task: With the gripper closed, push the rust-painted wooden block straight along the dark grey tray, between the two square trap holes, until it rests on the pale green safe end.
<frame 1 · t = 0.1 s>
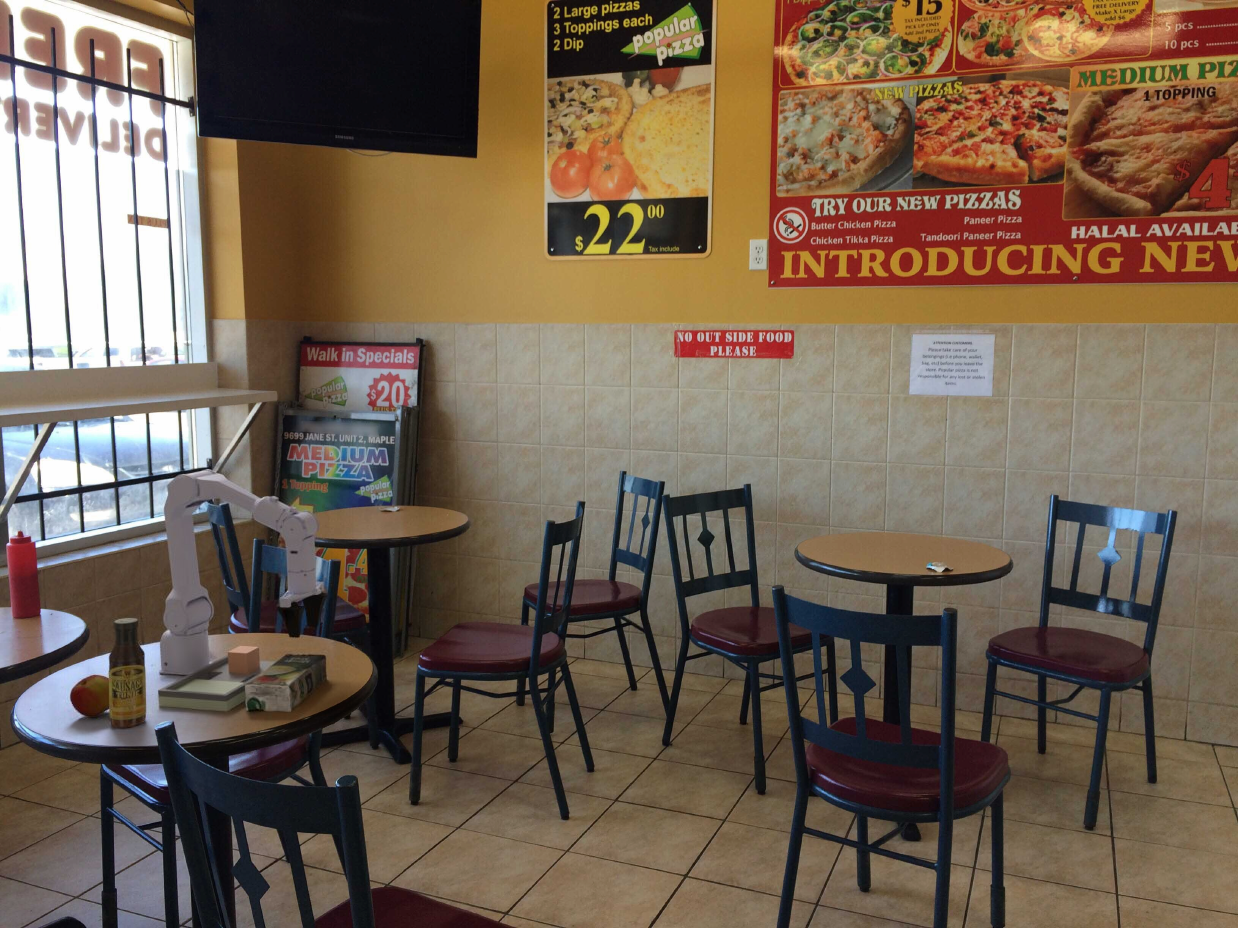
hand: (304, 631, 211), 10 cm above the table, tool pointing down, fingers open, 7 cm apart
juice carton: (287, 697, 202), on the table
white cup: (186, 651, 231), on the table
trap tray: (228, 687, 205), on the table
apple: (96, 716, 190), on the table
block: (244, 669, 211), point 2 cm above the table, touching trap tray
sauce bottle: (129, 724, 187), on the table
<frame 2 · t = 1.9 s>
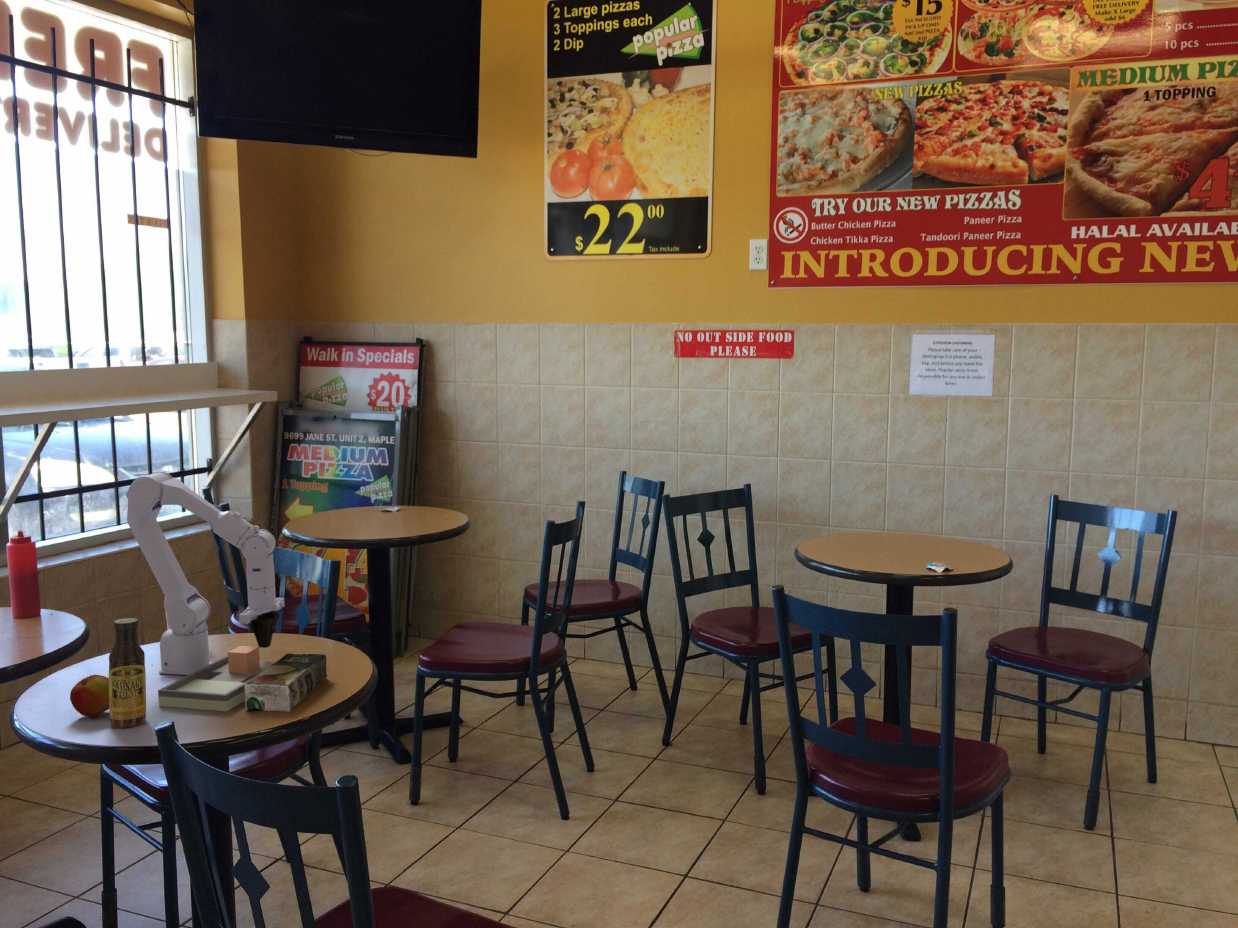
hand: (264, 646, 218), 5 cm above the table, tool pointing down, fingers closed
nothing on the table moved.
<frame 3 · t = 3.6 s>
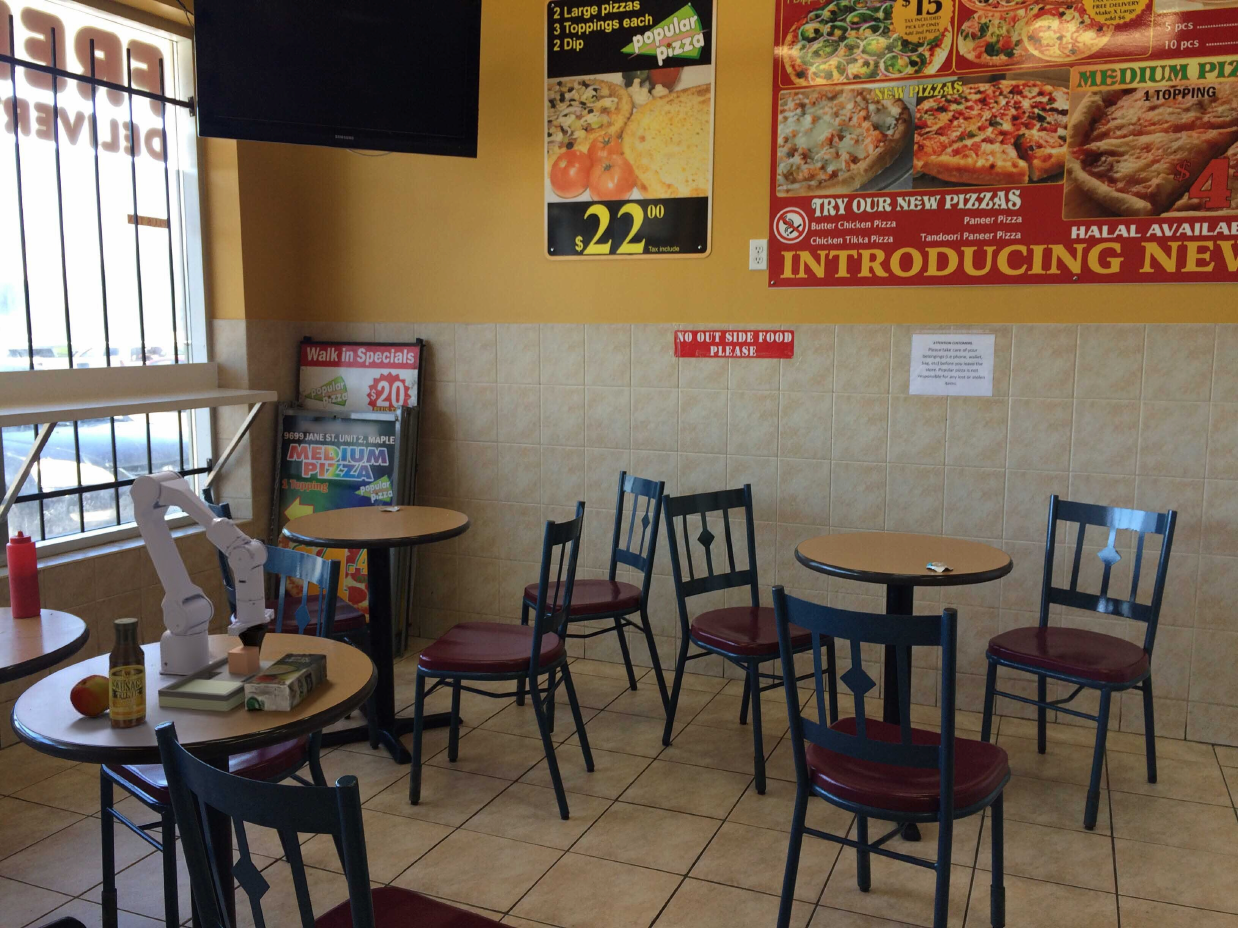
hand: (253, 659, 214), 3 cm above the table, tool pointing down, fingers closed, pressing on block
block: (244, 669, 211), point 2 cm above the table, touching gripper, trap tray
everything else where it was.
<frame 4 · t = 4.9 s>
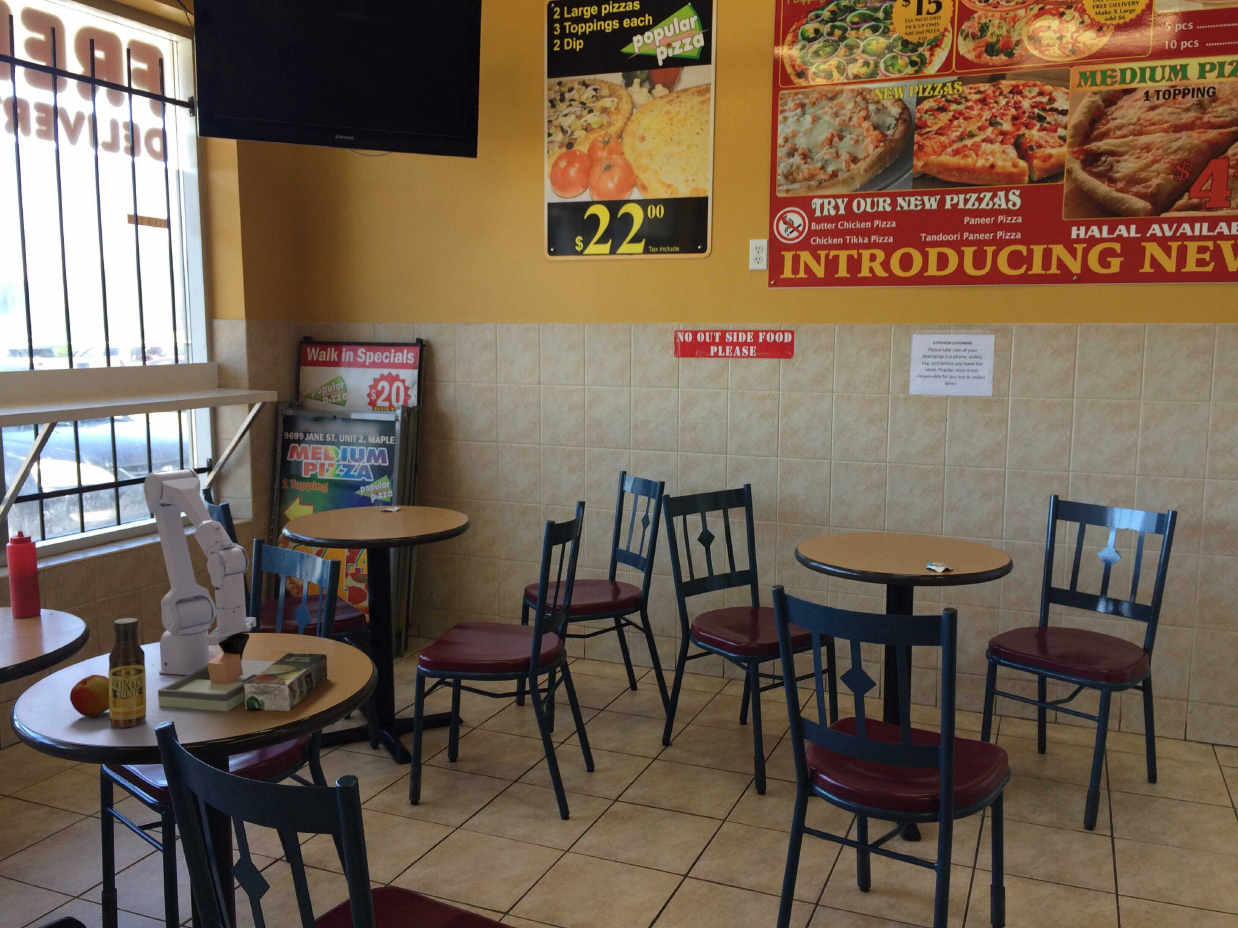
hand: (234, 669, 207), 3 cm above the table, tool pointing down, fingers closed, pressing on block
block: (227, 678, 204), point 2 cm above the table, tilted 10°, touching gripper, trap tray
everything else where it was.
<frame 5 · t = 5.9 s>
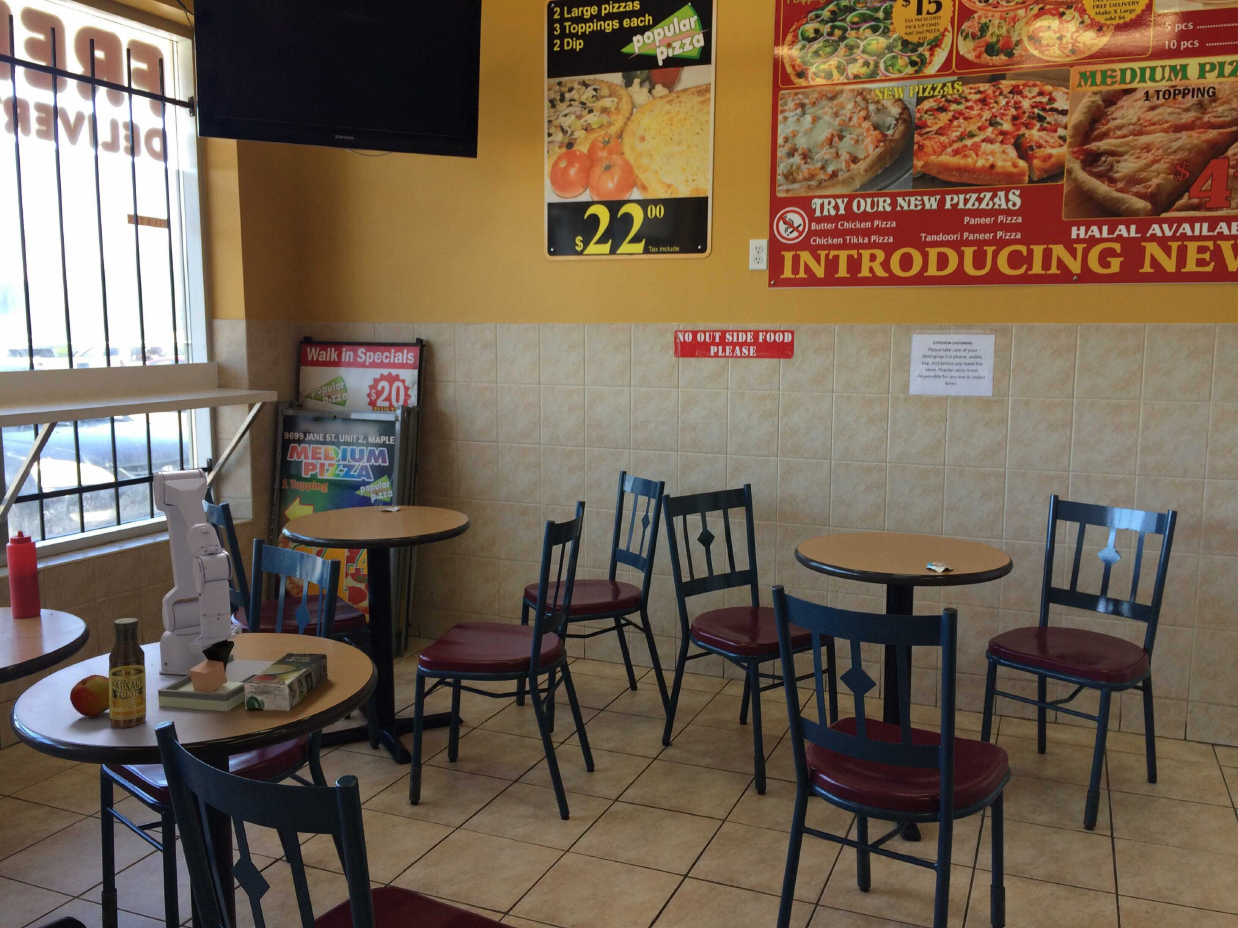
hand: (219, 677, 202), 3 cm above the table, tool pointing down, fingers closed, pressing on block
block: (210, 685, 200), point 2 cm above the table, tilted 12°, touching gripper, trap tray
everything else where it was.
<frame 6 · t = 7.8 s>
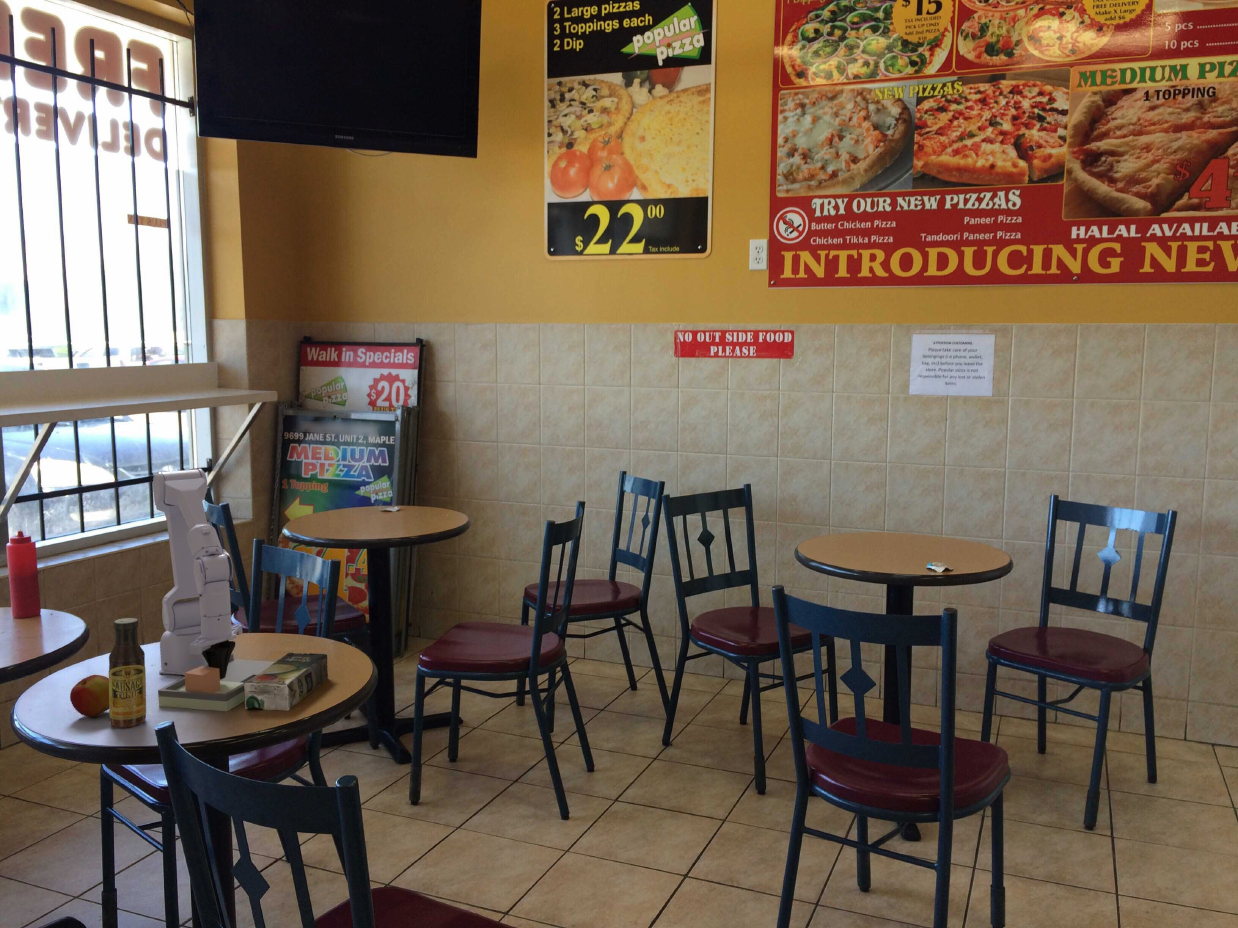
hand: (219, 678, 202), 3 cm above the table, tool pointing down, fingers closed
block: (203, 692, 197), point 2 cm above the table, touching trap tray
everything else where it was.
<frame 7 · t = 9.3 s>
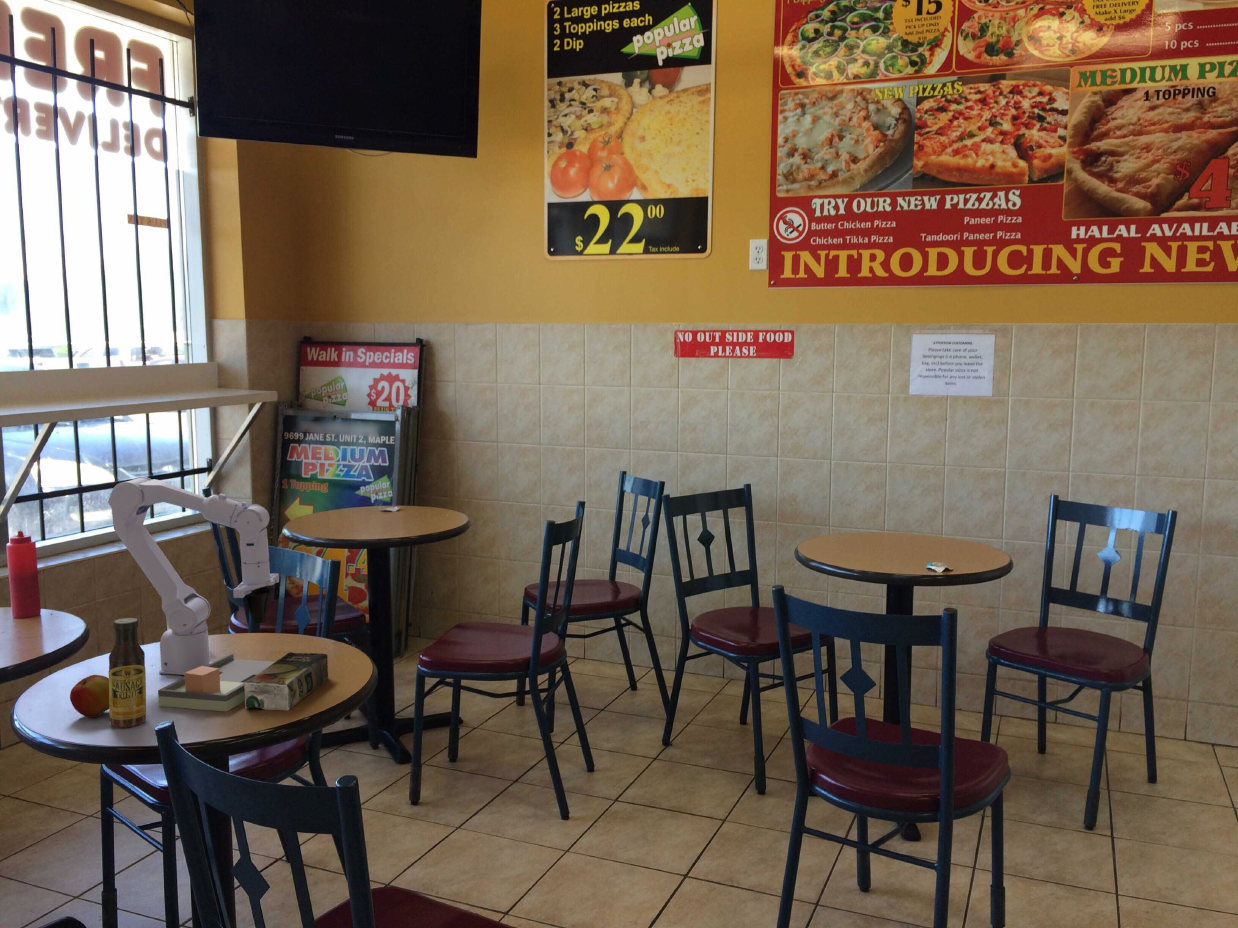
hand: (259, 621, 217), 10 cm above the table, tool pointing down, fingers closed
nothing on the table moved.
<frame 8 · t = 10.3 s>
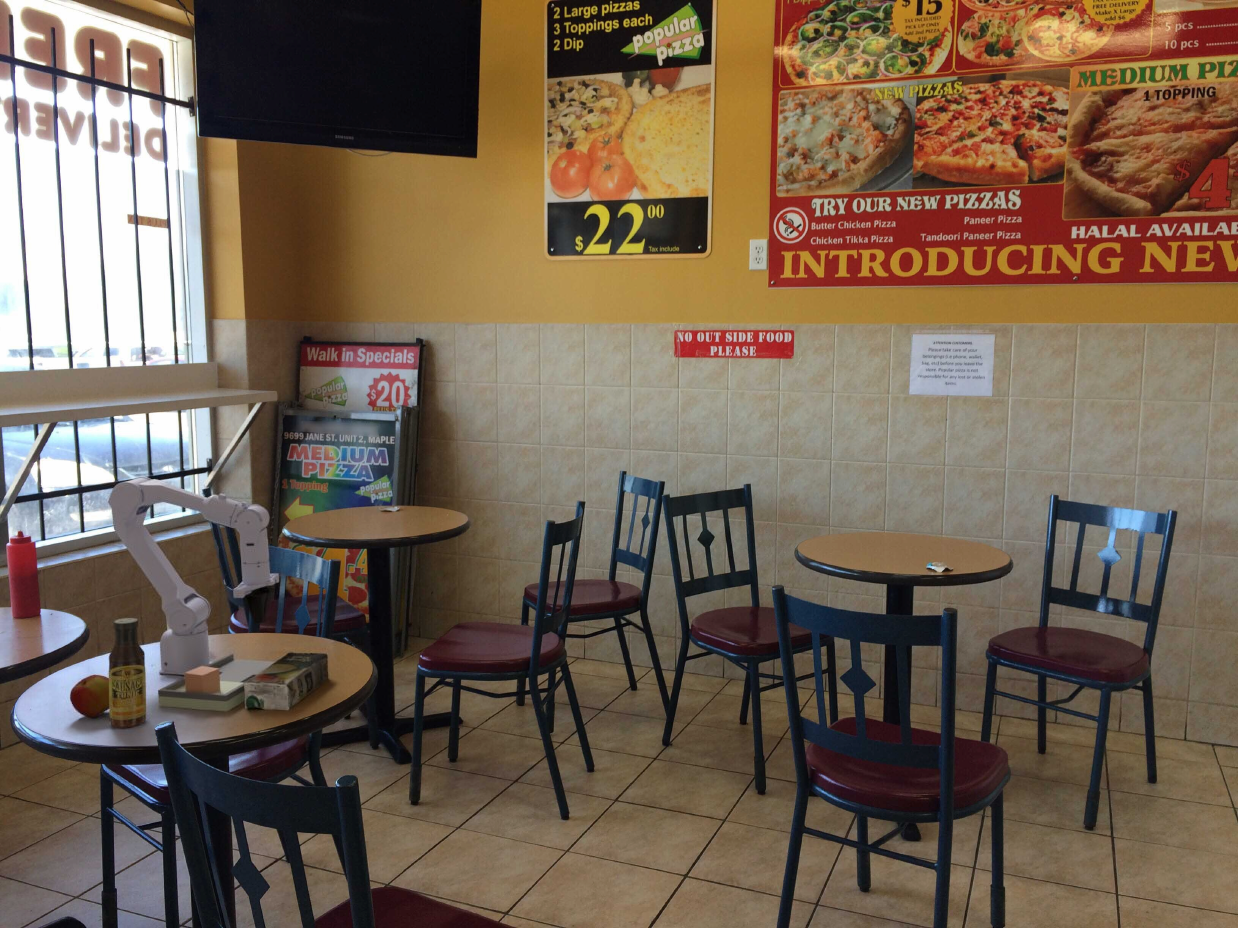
hand: (259, 621, 217), 10 cm above the table, tool pointing down, fingers closed
nothing on the table moved.
at the end: block inside the target area (1.4 cm from its centre), point 2.0 cm above the table; block tilted 0°; block touching trap tray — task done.
